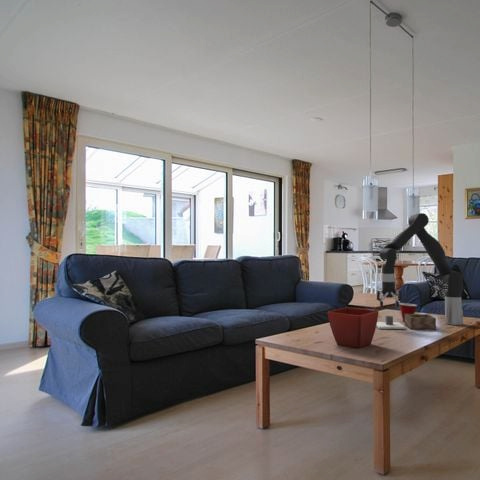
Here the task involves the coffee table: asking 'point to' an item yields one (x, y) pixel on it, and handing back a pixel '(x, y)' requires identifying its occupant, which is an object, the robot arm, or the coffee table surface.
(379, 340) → the coffee table surface
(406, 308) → the plastic cup
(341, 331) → the plant pot
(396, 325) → the cream lid
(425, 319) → the walnut box
